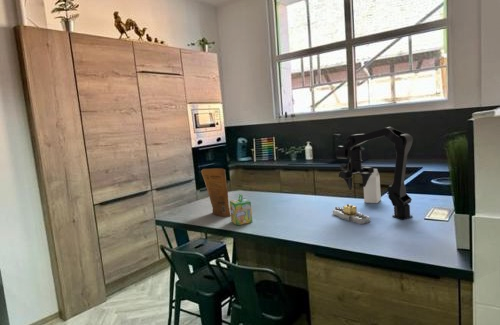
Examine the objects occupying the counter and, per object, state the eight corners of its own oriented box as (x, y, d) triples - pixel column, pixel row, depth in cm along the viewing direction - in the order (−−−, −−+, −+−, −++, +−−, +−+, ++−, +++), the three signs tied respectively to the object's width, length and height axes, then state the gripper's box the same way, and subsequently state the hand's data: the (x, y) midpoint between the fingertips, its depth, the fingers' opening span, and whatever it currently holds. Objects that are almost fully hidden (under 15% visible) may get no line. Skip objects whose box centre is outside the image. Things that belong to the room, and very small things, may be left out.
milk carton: (377, 203, 187) (375, 169, 184) (364, 202, 191) (362, 169, 189) (380, 200, 192) (379, 167, 190) (368, 199, 197) (366, 167, 194)
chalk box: (231, 221, 182) (228, 194, 180) (247, 218, 185) (244, 192, 183) (236, 226, 173) (233, 198, 171) (253, 222, 176) (250, 195, 174)
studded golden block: (357, 218, 166) (356, 205, 165) (350, 220, 164) (349, 206, 163) (350, 216, 170) (349, 203, 169) (344, 217, 169) (343, 204, 168)
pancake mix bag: (226, 218, 188) (220, 169, 184) (205, 214, 202) (199, 168, 198) (235, 215, 193) (229, 167, 189) (214, 211, 206) (208, 166, 203)
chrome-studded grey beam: (372, 221, 158) (372, 214, 158) (360, 225, 156) (359, 218, 155) (342, 211, 179) (341, 205, 178) (330, 214, 176) (330, 208, 175)
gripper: (358, 155, 185) (360, 183, 187) (331, 160, 178) (333, 189, 180) (373, 156, 175) (375, 186, 177) (345, 161, 168) (347, 192, 170)
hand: (357, 188), depth 176 cm, fingers open, 9 cm apart
